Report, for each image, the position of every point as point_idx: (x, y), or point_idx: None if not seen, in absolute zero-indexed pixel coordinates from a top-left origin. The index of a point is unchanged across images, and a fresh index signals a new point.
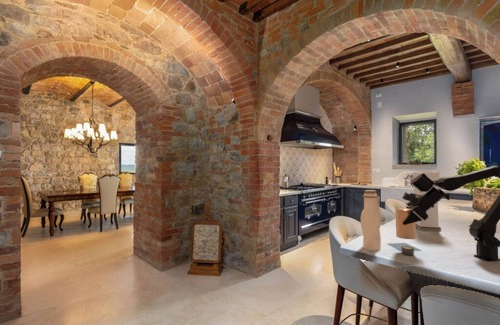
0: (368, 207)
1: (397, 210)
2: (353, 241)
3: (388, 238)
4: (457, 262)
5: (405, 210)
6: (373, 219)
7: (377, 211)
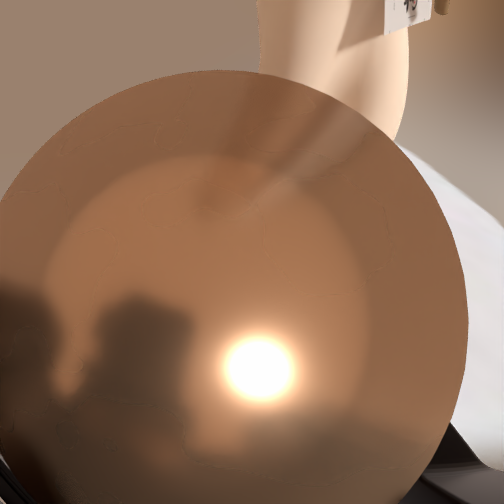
0: None
1: (125, 100)
2: (401, 149)
3: (490, 332)
4: None
5: (13, 236)
6: (260, 50)
7: (272, 3)
